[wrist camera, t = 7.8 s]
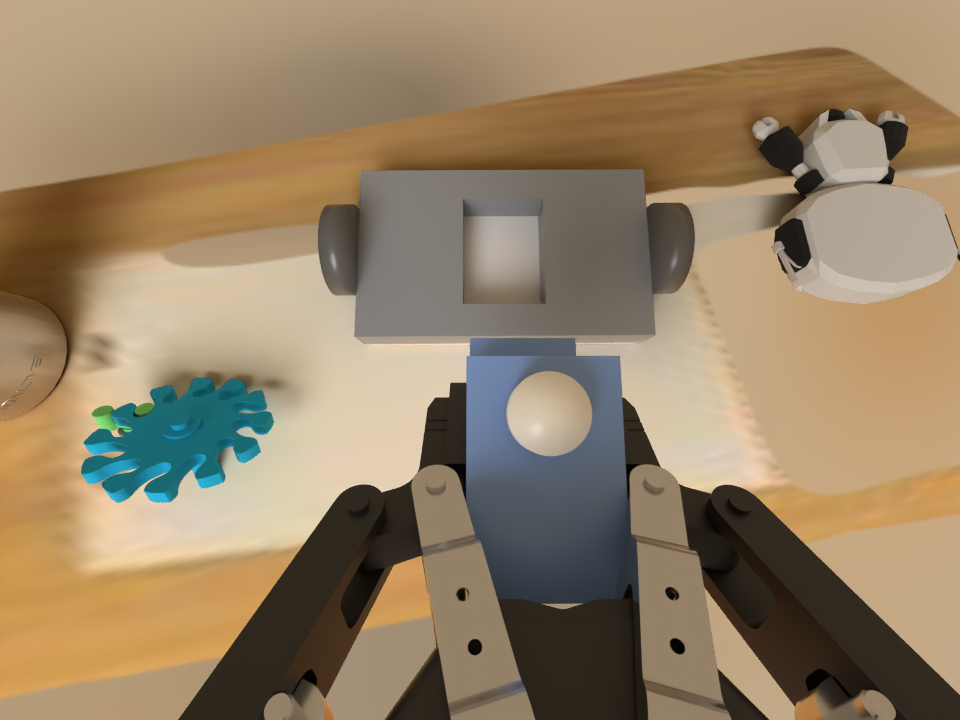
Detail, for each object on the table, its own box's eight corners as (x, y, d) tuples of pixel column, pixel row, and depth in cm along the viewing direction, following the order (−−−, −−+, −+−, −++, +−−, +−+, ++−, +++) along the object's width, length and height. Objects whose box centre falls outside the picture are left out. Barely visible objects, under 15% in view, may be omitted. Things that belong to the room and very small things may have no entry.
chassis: (660, 343, 31) (702, 324, 25) (344, 345, 31) (312, 326, 25) (649, 192, 33) (686, 141, 27) (351, 193, 33) (323, 142, 27)
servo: (566, 563, 18) (649, 693, 9) (470, 563, 18) (464, 694, 9) (559, 352, 19) (627, 291, 11) (471, 352, 19) (466, 290, 11)
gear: (301, 389, 29) (180, 510, 21) (314, 448, 33) (214, 572, 25) (166, 354, 31) (9, 453, 23) (192, 414, 35) (63, 518, 27)
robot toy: (723, 144, 35) (762, 317, 31) (758, 98, 31) (808, 294, 27) (871, 136, 35) (926, 308, 32) (927, 89, 31) (999, 283, 27)
